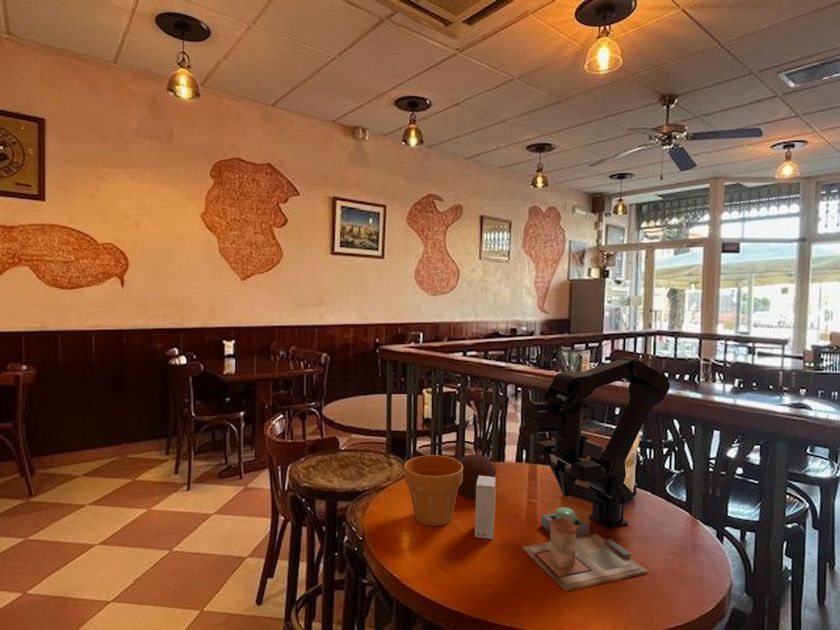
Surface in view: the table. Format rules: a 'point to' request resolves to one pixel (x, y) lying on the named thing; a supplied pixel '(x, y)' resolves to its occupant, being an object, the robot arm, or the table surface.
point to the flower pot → (433, 487)
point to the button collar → (581, 526)
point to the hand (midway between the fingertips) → (566, 495)
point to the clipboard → (587, 563)
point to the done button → (565, 514)
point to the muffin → (474, 473)
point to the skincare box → (485, 507)
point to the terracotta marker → (562, 542)
